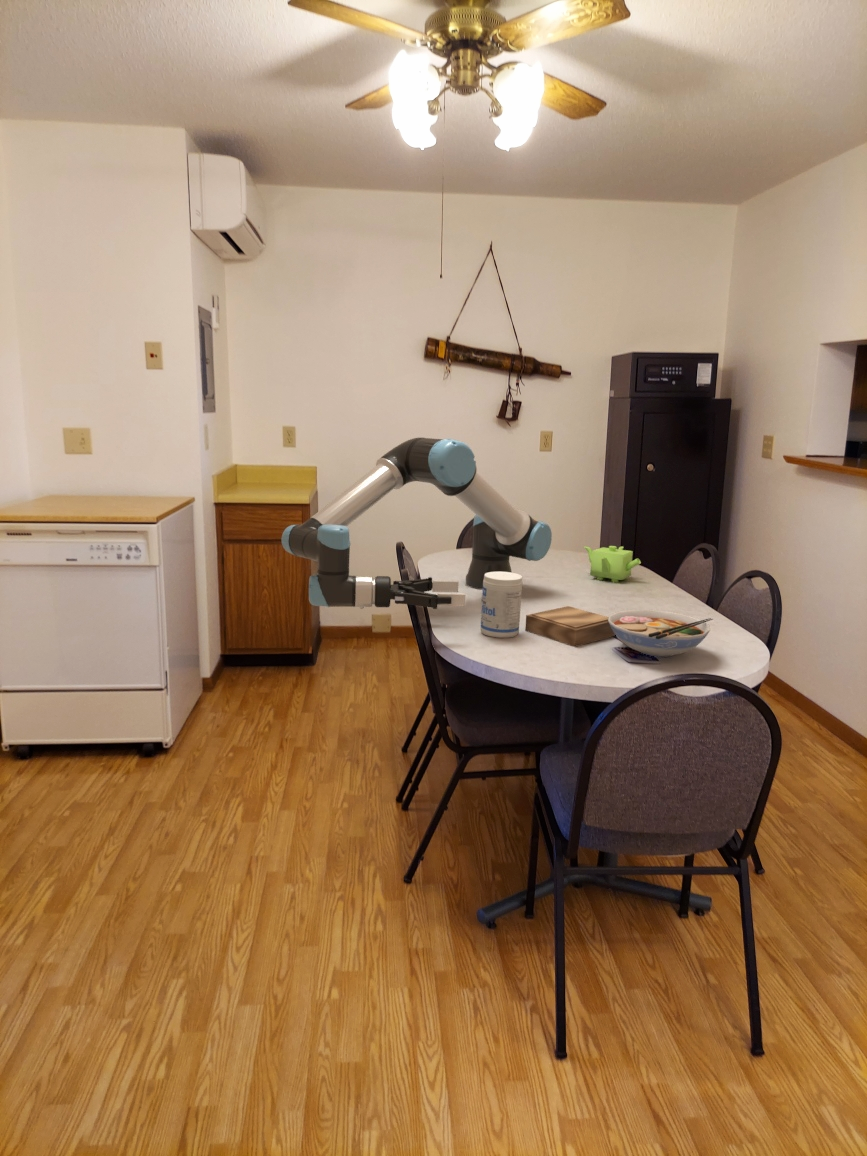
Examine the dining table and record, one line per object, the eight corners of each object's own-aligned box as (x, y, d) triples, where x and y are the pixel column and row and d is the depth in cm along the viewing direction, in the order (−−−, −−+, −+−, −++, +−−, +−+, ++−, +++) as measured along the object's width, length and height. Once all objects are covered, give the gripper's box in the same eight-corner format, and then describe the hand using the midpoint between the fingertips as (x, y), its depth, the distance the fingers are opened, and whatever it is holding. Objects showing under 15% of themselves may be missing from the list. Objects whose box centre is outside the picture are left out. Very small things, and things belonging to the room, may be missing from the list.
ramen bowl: (644, 632, 196) (647, 601, 194) (729, 655, 179) (732, 621, 177) (582, 650, 179) (584, 616, 178) (668, 677, 163) (672, 640, 161)
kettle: (580, 575, 261) (583, 542, 259) (619, 574, 264) (621, 542, 262) (599, 585, 247) (602, 550, 244) (640, 584, 250) (643, 550, 248)
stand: (525, 630, 194) (526, 613, 193) (567, 620, 204) (568, 604, 203) (574, 646, 182) (576, 628, 181) (616, 635, 192) (618, 618, 191)
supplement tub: (472, 632, 191) (474, 574, 188) (498, 625, 198) (500, 569, 194) (501, 641, 184) (504, 581, 181) (527, 634, 191) (530, 576, 187)
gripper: (373, 594, 199) (455, 595, 201) (374, 620, 174) (467, 621, 176) (373, 565, 197) (456, 567, 199) (374, 588, 173) (468, 589, 175)
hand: (461, 592), depth 188 cm, fingers open, 13 cm apart
